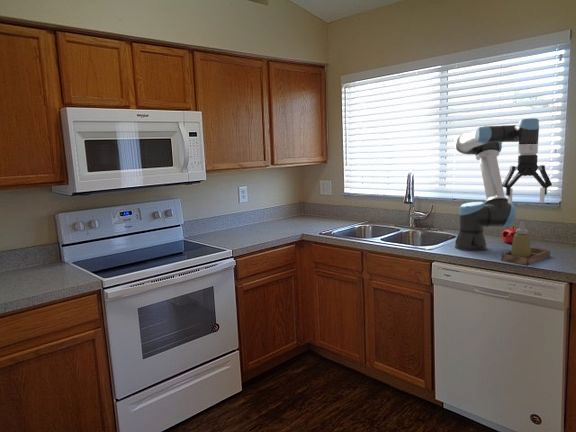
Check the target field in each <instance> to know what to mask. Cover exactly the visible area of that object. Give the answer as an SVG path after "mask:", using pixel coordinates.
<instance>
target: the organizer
mask: <svg viewBox="0 0 576 432" xmlns="http://www.w3.org/2000/svg"><path fill="white" fill-rule="evenodd" d="M530 249H531V255H530V257H529V258H524V257H518V256H512V254H511V250H509V251H507V252H504V253H501V259H500V260H501V261H502V262H507V263H512V264H519V265H525V266H530V265H532V264H535V263H538V262H540V261H543V260H545V259H547V258H549V257H551V250H550V249H544V248H537V247H531V246H530Z"/></svg>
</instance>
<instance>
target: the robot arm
mask: <svg viewBox="0 0 576 432" xmlns="http://www.w3.org/2000/svg"><path fill="white" fill-rule="evenodd" d="M518 123H519V124H509V125H507V124H505V125H482V126H478V127H477V128H476V130H474V131H472V132H467V133H466V132H465V133H462V134H458V136H457V137H456V138H455V139H454V148H455V149H456V151H457V152H458V153H460V154H463V155H469V156H470V155H475V160H477V161H479V164H480V170H481V176H482V181H483V187H484V193H485V197H486V200H485V201H484V202H483V201H471V202H465V203H463V204H461V205H460V206H459V211H458V212H459V213H458V214H459V215H458V216H459V217H458V222H459V223H458V226H459V227H458V234H457V237H456V240H455V242H454V247H455V248H456V249H457V250H462V251H470V252H471V251H472V252H473V251H477V252H478V251H484V250H486V249H487V242H486V241H487V240H486V238H485V234H484V228H506V227H507V228H509V227H511V226H513V224H514V222H515V220H516V216H517V209H516V206H515V204H513V193H514V192H513V188H512V187H513V186H514V185H515V183H517V181H519V179H520V178H522V177H526V176H527V177H528V176H529V177H530V176H531V177H533V178H534V179H535V180H536V181H537V182H538V183H539V184H540V186H541V187H539V189H540V190H539V203H542V204H543V203H545V196H547V194H548V188H549V187H551V186H552V185H553V183H552V182H551V179H550V177H549V176H548V173H547V171H546V165H543V164H540V165H538V155H537V154H538V153H539V135H540V134H539V133H540V120H539V119H538V118H534V117H533V118H522V119H520V120H519V122H518ZM503 143H518V152H517V153H518V156H517V166H515V165H510V166H509V172H508V173H507V175H506V176H505V179H504V180H503V182H502V176H501V173H500V172H501V171H500V168H499V162H498V156H499V155H500V153H501V152H502V148H503V146H502V144H503ZM516 170H517V171H518V172H516ZM537 171H539V172H540V174H541V176H542V177H541V176H540V175H539V173H538V172H537ZM515 172H516V174H515V175H514V173H515ZM513 176H514V177H513ZM512 177H513V178H512ZM504 188H505V192H504ZM505 195H506V196H507V197H506V196H505Z"/></svg>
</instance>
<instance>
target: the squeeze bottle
mask: <svg viewBox="0 0 576 432" xmlns="http://www.w3.org/2000/svg"><path fill="white" fill-rule="evenodd" d="M518 228H519V229H516V228H515V229H516V234H514V237H513V243H511V250H510V251H511V254H512V256H518V257H524V258H529V257H530V255H531V249H530V247H531V237H530V234H529V231H528V229H526V226H525V221H520V224H519V227H518Z"/></svg>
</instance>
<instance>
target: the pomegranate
mask: <svg viewBox="0 0 576 432" xmlns="http://www.w3.org/2000/svg"><path fill="white" fill-rule="evenodd" d="M515 227H516V226H515V225H512V227H511V226H510V228H509V227H507V228H506V227H505V229H504V230H503V231H502V232H501V237H502V240H503V242H504V243H505V244H512V243H513V237H514V234H516V229H519V227H517V228H515Z"/></svg>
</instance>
